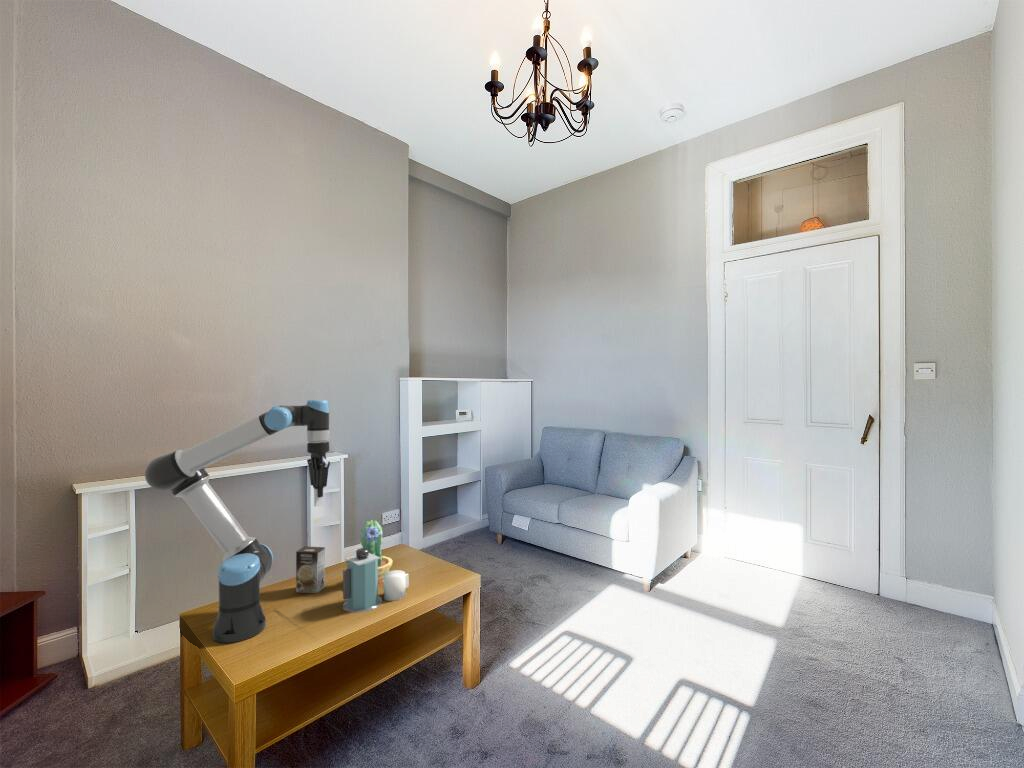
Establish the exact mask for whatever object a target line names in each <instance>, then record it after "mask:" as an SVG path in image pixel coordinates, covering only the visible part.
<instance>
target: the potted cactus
mask: <svg viewBox="0 0 1024 768" xmlns="http://www.w3.org/2000/svg"><path fill="white" fill-rule="evenodd" d="M360 544H361V546H362V547H361V548H368V549H369V553H370V554H373V555H375V556H378V557H380V559H378V584H381V583H382V582H383V583H384V574H385V573H386V572H389V571H390V568H391V567H392V566H393V559H392V558H391V557H388V556H385V555H382V544H383V528H382V526H381V524H380V523H379V522H378V521H377V520H373V519H371V520H370V521H366V522H365V524H364V526H363V527H362V529H361V530H360Z"/></svg>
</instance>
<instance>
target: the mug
mask: <svg viewBox="0 0 1024 768" xmlns="http://www.w3.org/2000/svg"><path fill="white" fill-rule="evenodd" d="M409 575H410V574H409V573H406V572H405V571H404V570H400V569H399V570H398V569H397V570H396V569H395V570H389V571H388V572H386V573H385V574H384V580H383V600H385V601H388V602H395V601H399V600H402V599H404V598H405V597H406V589H407V588H409V587H410V576H409Z"/></svg>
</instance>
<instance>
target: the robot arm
mask: <svg viewBox="0 0 1024 768" xmlns="http://www.w3.org/2000/svg"><path fill="white" fill-rule="evenodd" d="M329 408H330V407H329V401H328V400H327V399H309V400H307V402H306V404H304V405H274V406H272V407H271V409H268V411H266V412H264V413H262V414H260V415H258V416H255V417H253V418H251V419H249V420H247V421H245V422H243V423H240V424H239V425H236V426H234V427H232V428H229V429H228V430H226V431H223V432H221V433H218V434H217V435H214V436H213V437H211V438H208V439H206V440H203V441H202V442H200V443H197V444H196V445H194V446H192V447H190V448H187V449H185V450H184V449H178V450H176V451H173V452H170V453H168V454H163V455H160V456H158V457H156V458H154V459H152V460H151V461H150V462H149V463H148V464H147V466H146V468H145V471H144V478H145V482H146V483H147V484H148V485H149V486H150V487H151V488H152V489H154V490H157V491H163V492H164V491H170V492H171V493H172V495H173V496H174V497H175V498H182V499H183V501H184V502H185V503H186V505H188V507H189V508H190V510H191V511H192V513H193V514H195V516H196V518H197V519H198V520H199V522H200V523H201V524H202V525H203V527H204V529H206V531H207V532H208V534H210V536H211V537H212V538H213V540H214V541H215V542H216V543H217V545H218V546H219V548H220V549H221V550H222V552H223V554H224V555H223V558H222V562H221V564H220V565H219V568H218V575H217V579H218V613H217V616H216V619H215V622H214V625H213V628H212V639H213V641H214V642H216V643H220V642H221V643H222V644H229V643H236V642H237V643H238V642H241V641H245V640H248V639H251V638H253V637H255V636H257V635H258V634H260V633H262V632H263V630H264V629H266V626H267V620H266V615H265V613H264V610H263V607H262V605H261V602H260V599H261V595H260V594H261V589H260V587H261V586H260V585H261V583H262V581H263V580H264V578H265V577H266V575H268V574H269V572H270V571H271V568H272V565H273V562H274V555H273V551H272V549H270V548H269V546H267V545H266V544H264V543H263V544H262V543H260V542H259V540H258V539H257V538H256V537H255V536H254V537H253V536H249V535H248V534H247V533H246V531H245V530H244V528H242V525H241V524H240V523H239V522H238V520H237V519H236V518H235V517H234V515H233V514H232V512H230V510H229V509H228V507H227V506H226V505H225V503H224V501H223V500H222V499H221V498H220V497H219V495H218V494H217V493H216V491H215V490H214V488H213V487H212V486H211V484H210V483H209V481H210V476H211V475H209V473H208V472H207V471H206V467H207V466H210V465H212V464H214V463H216V462H218V461H220V460H222V459H225V458H226V457H228V456H230V455H234V453H237V452H238V451H241V450H242V449H245V448H247V447H249V446H251V445H253V444H256V443H257V442H259V441H262V440H263V439H266V438H268V437H269V436H272V435H275V434H276V433H278V432H280V431H282V430H285V429H287V428H289V427H301V426H302V427H305V426H306V427H307V428H306V441H307V444H306V452H307V453H308V454H310V458H307V460H306V462H307V465H308V473H309V482H310V486H312V488H313V506H314V507H316V508H317V507H321V506H324V488H326V487H327V485H328V478H329V477H328V476H329V468H330V465H331V462H330V461H327V455H326V454H327V453H328V452H329V451H330V442H329V440H330V434H331V432H330V409H329ZM221 643H220V644H221Z"/></svg>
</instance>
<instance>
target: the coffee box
mask: <svg viewBox="0 0 1024 768" xmlns="http://www.w3.org/2000/svg"><path fill="white" fill-rule="evenodd" d="M325 551H326V547H325V546H308V545H307V546H306V545H305V546H303V547H301V548H300V549H298V550H297V551H296V552H295V570H296V571H295V573H296V574H295V592H296V593H302V594H303V593H305V594H306V593H307V594H317V593H319V592H320V591H322V590H323V589H324V588H325V585H326V584H325V583H326V581H325V579H326V577H325V575H326V574H325V573H326V571H325V569H326V568H325V567H326V563H325V562H326V559H325V558H326V552H325Z"/></svg>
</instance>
